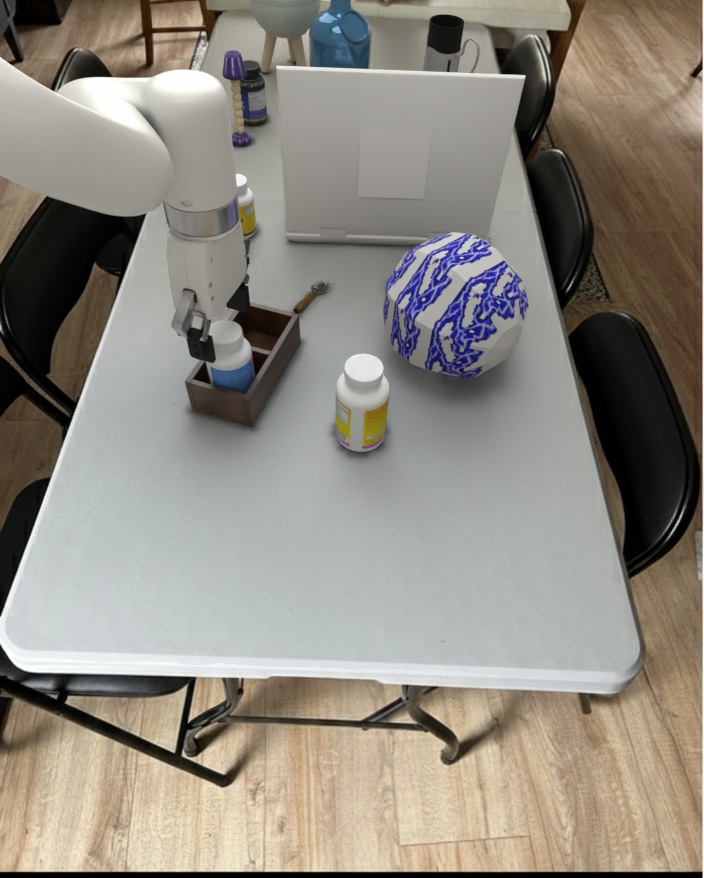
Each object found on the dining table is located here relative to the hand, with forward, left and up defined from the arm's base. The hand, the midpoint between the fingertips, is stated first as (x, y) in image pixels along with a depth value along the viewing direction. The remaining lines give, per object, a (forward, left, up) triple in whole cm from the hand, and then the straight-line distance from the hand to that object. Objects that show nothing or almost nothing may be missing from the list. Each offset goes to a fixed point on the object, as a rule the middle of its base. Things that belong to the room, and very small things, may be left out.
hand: (221, 333), depth 77 cm
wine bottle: (+28, +86, -12) cm, 91 cm away
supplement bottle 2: (+16, -9, -12) cm, 22 cm away
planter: (+18, +104, -12) cm, 106 cm away
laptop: (+30, +44, -12) cm, 55 cm away
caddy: (+2, +4, -12) cm, 13 cm away
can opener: (+13, +19, -12) cm, 26 cm away
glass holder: (+53, +86, -12) cm, 102 cm away
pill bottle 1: (0, 0, -11) cm, 11 cm away
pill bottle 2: (+8, +80, -12) cm, 81 cm away
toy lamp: (+5, +71, -12) cm, 72 cm away
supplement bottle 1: (+3, +39, -12) cm, 41 cm away
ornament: (+31, +4, -12) cm, 34 cm away
